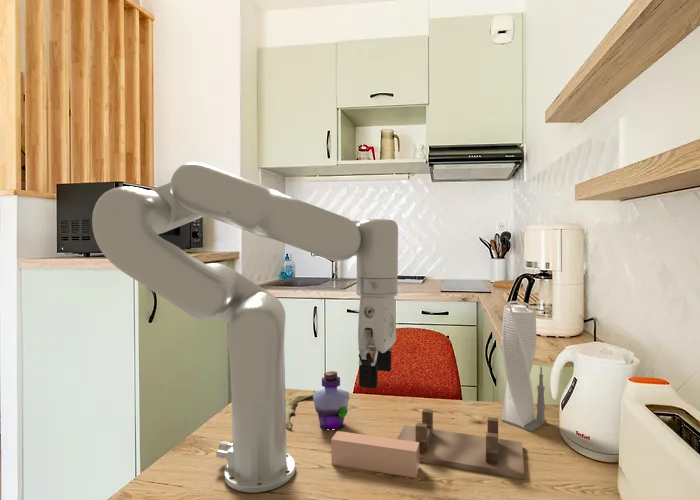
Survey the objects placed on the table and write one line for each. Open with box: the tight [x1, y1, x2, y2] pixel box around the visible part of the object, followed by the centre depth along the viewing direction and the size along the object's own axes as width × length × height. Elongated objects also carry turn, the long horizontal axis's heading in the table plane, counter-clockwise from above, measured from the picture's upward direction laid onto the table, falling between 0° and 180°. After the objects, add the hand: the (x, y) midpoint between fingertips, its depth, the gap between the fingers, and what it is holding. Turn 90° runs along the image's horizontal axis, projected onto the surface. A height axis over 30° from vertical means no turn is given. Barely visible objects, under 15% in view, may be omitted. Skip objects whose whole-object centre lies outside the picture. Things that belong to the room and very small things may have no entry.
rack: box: [397, 408, 525, 480], centre depth 86 cm, size 24×12×6 cm, turn 70°
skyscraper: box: [501, 300, 547, 432], centre depth 98 cm, size 8×8×28 cm
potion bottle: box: [312, 370, 350, 432], centre depth 98 cm, size 9×9×12 cm
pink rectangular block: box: [330, 430, 420, 479], centre depth 81 cm, size 16×4×5 cm, turn 72°
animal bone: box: [286, 390, 316, 431], centre depth 106 cm, size 21×2×10 cm
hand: (375, 378), depth 81 cm, fingers open, 9 cm apart
